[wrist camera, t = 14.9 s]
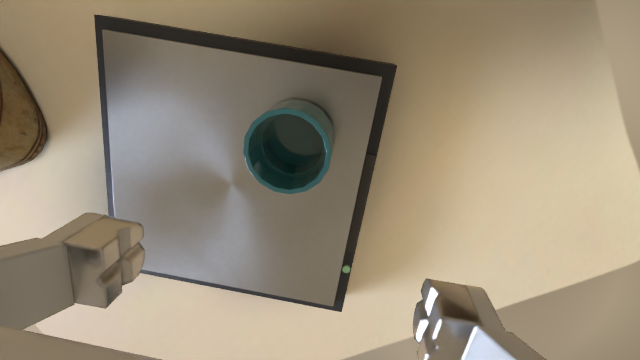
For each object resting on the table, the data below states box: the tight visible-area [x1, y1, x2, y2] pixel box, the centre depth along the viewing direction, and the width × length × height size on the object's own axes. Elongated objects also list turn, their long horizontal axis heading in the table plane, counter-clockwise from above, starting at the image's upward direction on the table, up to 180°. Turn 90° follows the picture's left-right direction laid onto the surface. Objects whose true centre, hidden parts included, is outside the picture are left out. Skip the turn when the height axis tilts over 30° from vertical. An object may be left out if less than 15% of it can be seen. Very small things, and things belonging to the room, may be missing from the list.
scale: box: [94, 15, 397, 312], centre depth 34 cm, size 25×25×3 cm
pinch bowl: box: [243, 99, 335, 194], centre depth 28 cm, size 6×6×5 cm
